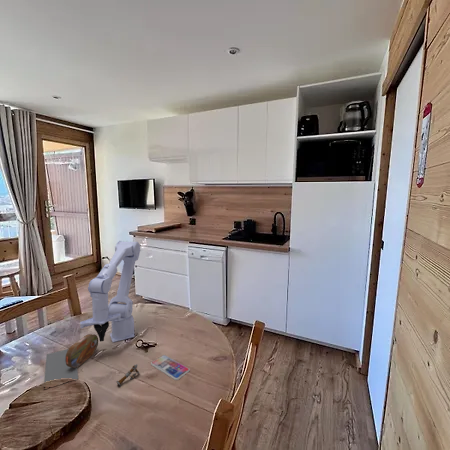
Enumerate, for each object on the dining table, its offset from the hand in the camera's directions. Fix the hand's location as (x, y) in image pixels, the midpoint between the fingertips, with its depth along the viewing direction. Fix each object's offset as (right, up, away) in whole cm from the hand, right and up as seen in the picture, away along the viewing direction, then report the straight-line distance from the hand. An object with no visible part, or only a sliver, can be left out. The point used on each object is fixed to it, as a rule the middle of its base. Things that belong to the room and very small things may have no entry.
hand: (101, 340), depth 104 cm
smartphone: (+29, -8, -6) cm, 31 cm away
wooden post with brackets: (+16, -9, -13) cm, 22 cm away
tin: (-6, -7, -3) cm, 9 cm away
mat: (-12, -7, -7) cm, 15 cm away
